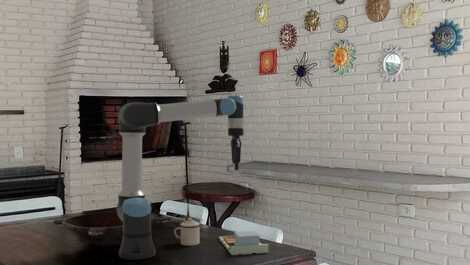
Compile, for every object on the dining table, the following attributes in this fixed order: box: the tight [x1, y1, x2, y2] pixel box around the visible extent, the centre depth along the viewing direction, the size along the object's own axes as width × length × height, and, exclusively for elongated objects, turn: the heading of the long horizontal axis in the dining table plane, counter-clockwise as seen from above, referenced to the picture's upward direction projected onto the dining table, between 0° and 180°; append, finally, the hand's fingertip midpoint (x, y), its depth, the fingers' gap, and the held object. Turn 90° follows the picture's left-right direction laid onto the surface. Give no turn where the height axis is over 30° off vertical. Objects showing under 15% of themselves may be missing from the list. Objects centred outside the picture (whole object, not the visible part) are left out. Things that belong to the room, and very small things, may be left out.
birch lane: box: [218, 235, 262, 255], centre depth 228 cm, size 28×16×1 cm, turn 13°
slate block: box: [233, 230, 260, 246], centre depth 219 cm, size 9×9×8 cm
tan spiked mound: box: [184, 203, 204, 228], centre depth 269 cm, size 15×10×13 cm
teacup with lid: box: [173, 217, 201, 247], centre depth 232 cm, size 12×9×12 cm
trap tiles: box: [224, 238, 234, 244], centre depth 237 cm, size 8×11×1 cm
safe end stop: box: [230, 243, 269, 256], centre depth 214 cm, size 1×16×4 cm, turn 103°
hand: (236, 176), depth 243 cm, fingers closed
